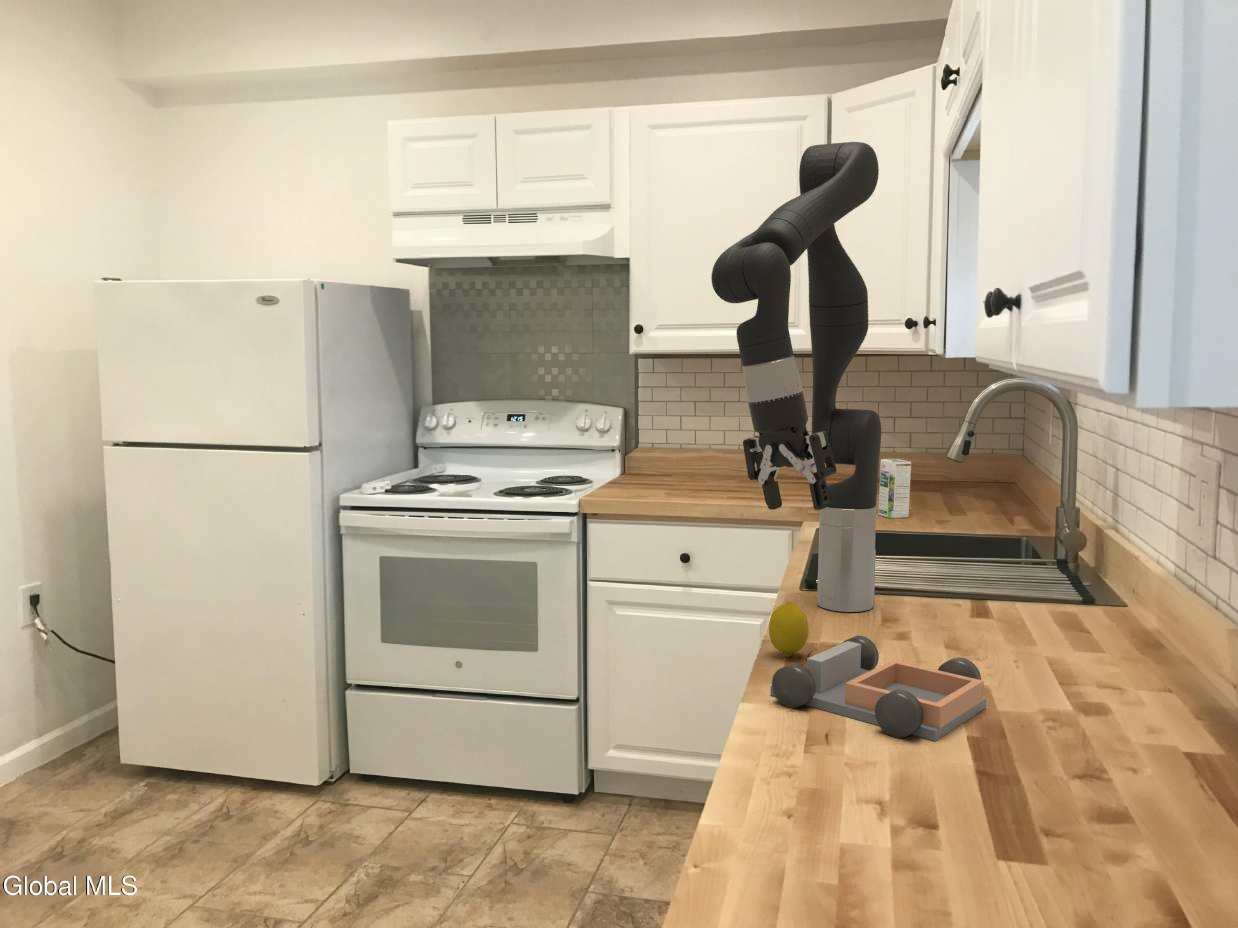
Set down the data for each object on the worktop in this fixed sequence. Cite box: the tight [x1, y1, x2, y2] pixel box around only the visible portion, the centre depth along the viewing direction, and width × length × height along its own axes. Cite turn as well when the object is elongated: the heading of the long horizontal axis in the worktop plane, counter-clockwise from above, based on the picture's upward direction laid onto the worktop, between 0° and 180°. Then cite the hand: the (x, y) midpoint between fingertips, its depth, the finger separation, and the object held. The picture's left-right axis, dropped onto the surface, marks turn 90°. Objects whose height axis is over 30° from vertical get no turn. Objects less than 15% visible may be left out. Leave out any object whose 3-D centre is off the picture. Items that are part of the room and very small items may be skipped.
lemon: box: [768, 601, 810, 658], centre depth 144 cm, size 6×6×8 cm
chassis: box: [769, 635, 987, 742], centre depth 126 cm, size 18×22×5 cm
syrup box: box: [877, 458, 912, 519], centre depth 258 cm, size 6×6×14 cm
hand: (797, 508), depth 140 cm, fingers open, 8 cm apart
